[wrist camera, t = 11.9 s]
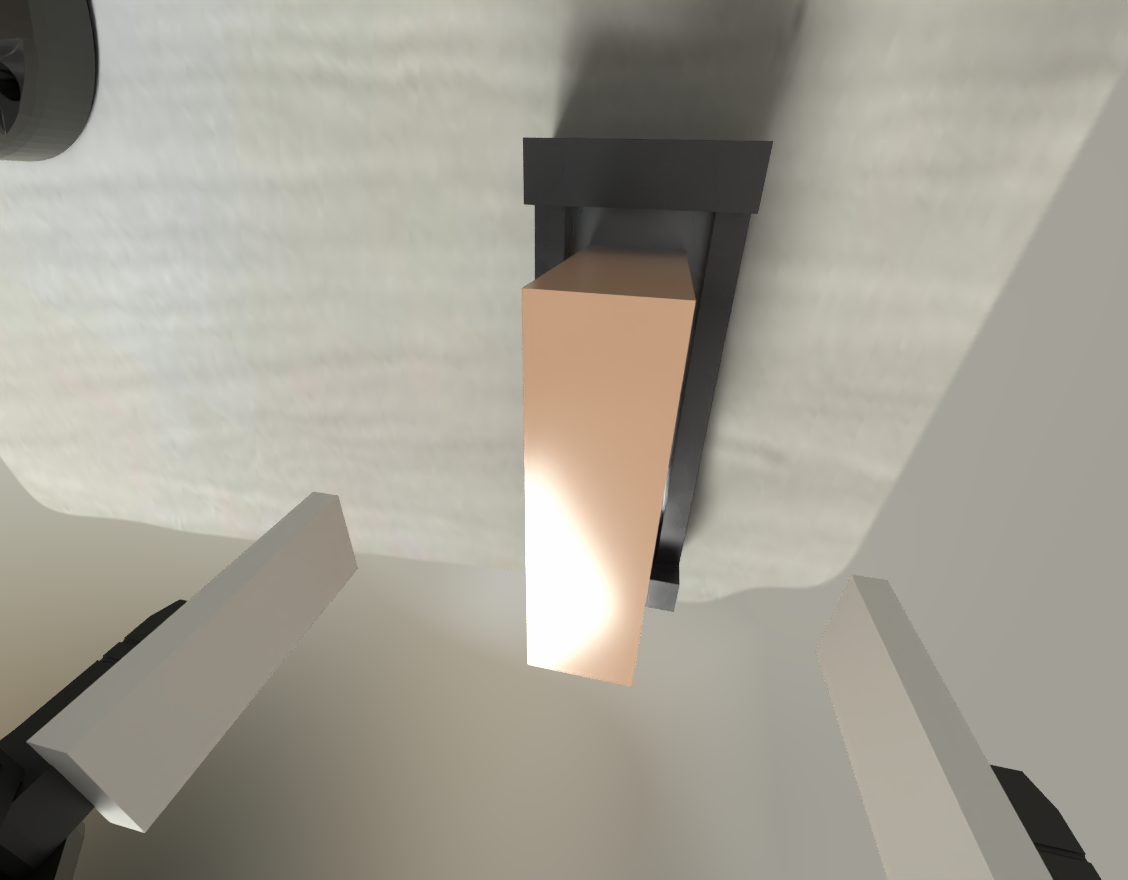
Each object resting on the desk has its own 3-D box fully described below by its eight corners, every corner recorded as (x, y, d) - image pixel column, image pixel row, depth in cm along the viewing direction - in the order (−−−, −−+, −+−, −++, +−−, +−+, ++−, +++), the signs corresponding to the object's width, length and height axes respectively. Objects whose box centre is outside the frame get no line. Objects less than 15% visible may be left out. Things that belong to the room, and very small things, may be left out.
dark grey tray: (550, 147, 19) (523, 137, 15) (753, 151, 17) (773, 141, 14) (545, 538, 29) (528, 585, 26) (673, 559, 28) (673, 611, 24)
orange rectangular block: (589, 245, 19) (521, 287, 11) (685, 250, 19) (695, 300, 10) (575, 508, 26) (527, 664, 18) (645, 519, 25) (631, 686, 17)
